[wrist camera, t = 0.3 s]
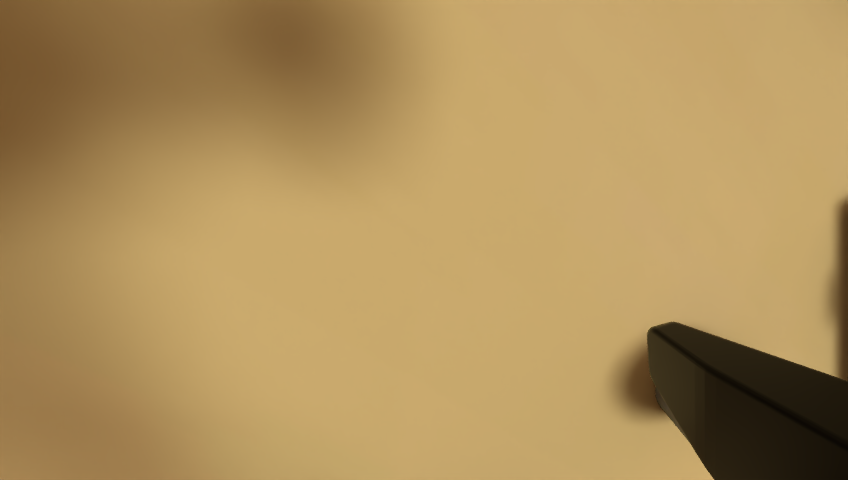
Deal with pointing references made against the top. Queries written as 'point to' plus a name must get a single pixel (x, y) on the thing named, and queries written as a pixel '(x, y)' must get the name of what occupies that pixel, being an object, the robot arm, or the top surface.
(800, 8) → the top surface
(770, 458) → the robot arm
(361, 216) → the top surface
